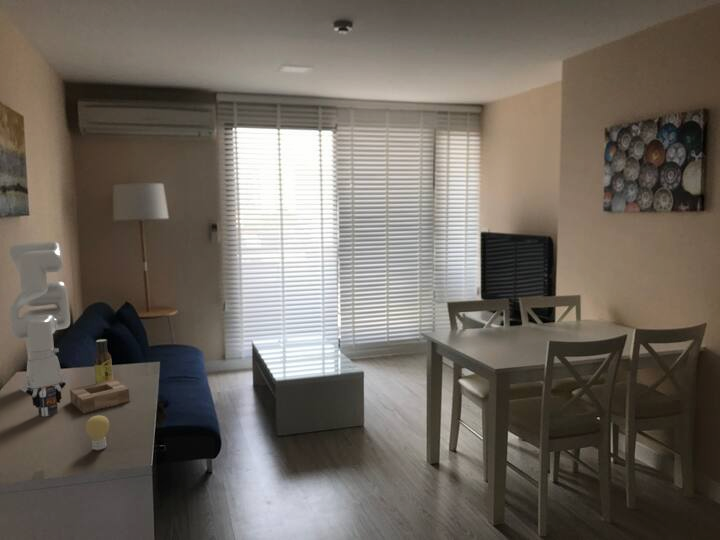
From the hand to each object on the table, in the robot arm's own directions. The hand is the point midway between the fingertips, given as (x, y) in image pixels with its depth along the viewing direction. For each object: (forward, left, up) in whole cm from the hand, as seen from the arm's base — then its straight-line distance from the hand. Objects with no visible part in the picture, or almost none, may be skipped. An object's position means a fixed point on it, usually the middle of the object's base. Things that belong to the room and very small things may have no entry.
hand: (47, 403), depth 200 cm
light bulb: (+45, +4, -4) cm, 45 cm away
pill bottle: (0, 0, -4) cm, 4 cm away
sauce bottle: (-13, +23, -4) cm, 27 cm away
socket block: (+1, +17, -4) cm, 17 cm away
